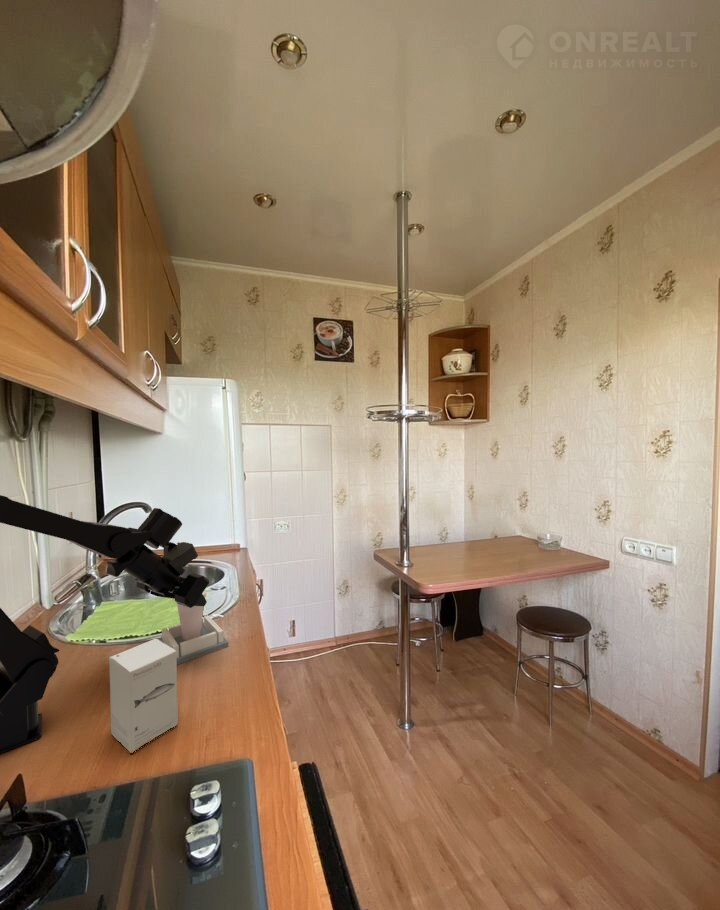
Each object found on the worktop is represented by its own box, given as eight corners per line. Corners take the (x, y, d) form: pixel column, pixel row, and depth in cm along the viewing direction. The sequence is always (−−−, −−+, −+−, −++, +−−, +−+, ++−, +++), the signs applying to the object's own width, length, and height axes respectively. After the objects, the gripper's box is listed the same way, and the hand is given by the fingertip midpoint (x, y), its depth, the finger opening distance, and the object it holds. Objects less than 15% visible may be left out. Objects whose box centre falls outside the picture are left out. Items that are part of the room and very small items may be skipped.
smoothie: (184, 646, 81) (182, 582, 81) (170, 637, 85) (169, 576, 85) (212, 634, 86) (210, 574, 86) (198, 626, 90) (196, 568, 90)
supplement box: (130, 757, 55) (127, 672, 55) (110, 734, 59) (107, 655, 59) (179, 726, 61) (177, 649, 61) (158, 707, 65) (155, 636, 65)
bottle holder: (228, 646, 85) (228, 631, 85) (170, 667, 77) (170, 650, 77) (210, 626, 94) (210, 613, 94) (157, 643, 86) (157, 628, 86)
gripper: (200, 538, 77) (243, 576, 86) (149, 529, 86) (192, 563, 96) (163, 589, 70) (214, 623, 80) (112, 572, 80) (163, 605, 89)
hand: (196, 601), depth 86 cm, fingers closed on smoothie, 6 cm apart
